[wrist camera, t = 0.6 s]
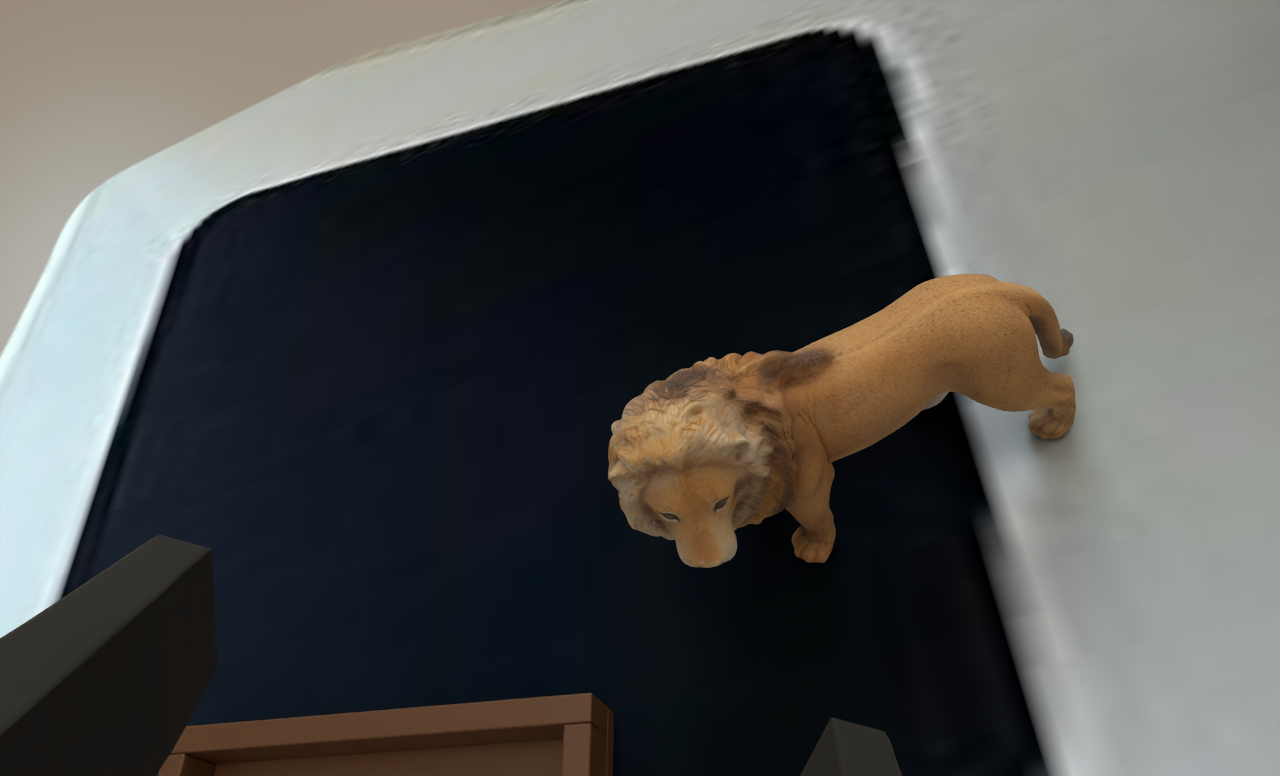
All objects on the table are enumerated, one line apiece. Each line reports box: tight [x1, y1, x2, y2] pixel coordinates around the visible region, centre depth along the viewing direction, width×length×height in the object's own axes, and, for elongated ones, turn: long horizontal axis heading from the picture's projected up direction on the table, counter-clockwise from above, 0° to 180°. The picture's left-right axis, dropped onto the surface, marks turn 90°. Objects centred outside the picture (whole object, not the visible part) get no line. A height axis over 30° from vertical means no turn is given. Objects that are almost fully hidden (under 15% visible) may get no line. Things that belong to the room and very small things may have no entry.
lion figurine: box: [608, 274, 1076, 568], centre depth 26 cm, size 15×5×9 cm, turn 121°
